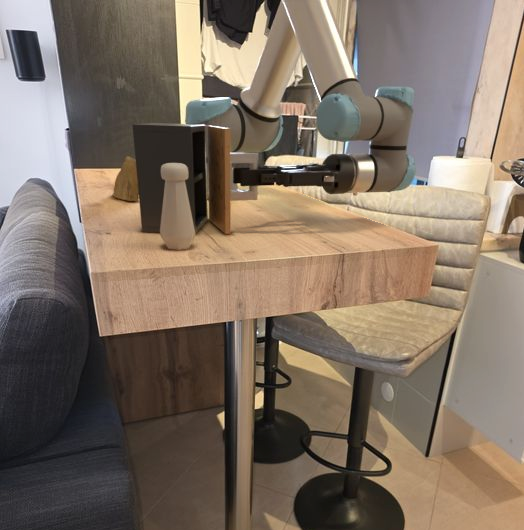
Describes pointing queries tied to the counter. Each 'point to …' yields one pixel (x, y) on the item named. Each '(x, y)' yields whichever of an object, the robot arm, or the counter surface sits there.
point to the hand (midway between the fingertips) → (237, 176)
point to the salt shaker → (176, 208)
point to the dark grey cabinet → (170, 151)
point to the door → (225, 176)
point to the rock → (127, 181)
